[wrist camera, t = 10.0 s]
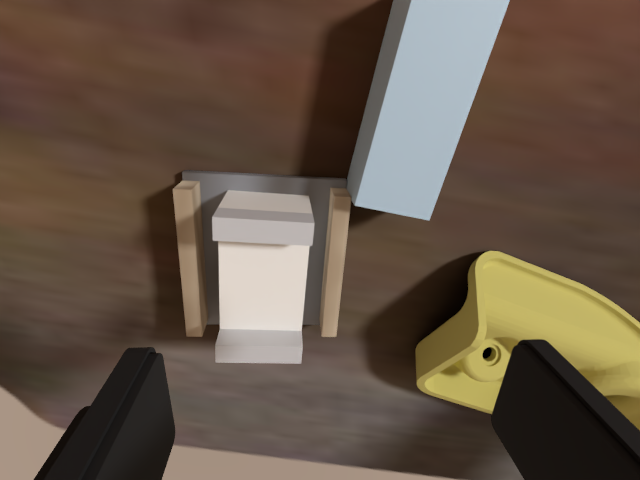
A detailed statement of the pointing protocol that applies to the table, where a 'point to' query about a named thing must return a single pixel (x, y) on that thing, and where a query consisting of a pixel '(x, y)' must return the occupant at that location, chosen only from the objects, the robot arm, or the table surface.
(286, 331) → the white i-beam block
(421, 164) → the light blue rectangular block
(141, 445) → the robot arm
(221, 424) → the table surface
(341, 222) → the assembly jig
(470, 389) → the plastic component
